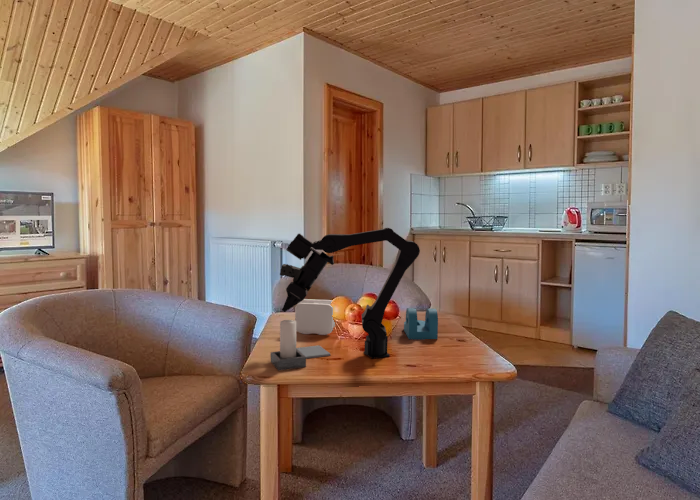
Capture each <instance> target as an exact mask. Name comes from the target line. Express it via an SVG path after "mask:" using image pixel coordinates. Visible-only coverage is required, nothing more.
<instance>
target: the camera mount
mask: <svg viewBox="0 0 700 500" xmlns="http://www.w3.org/2000/svg"><path fill="white" fill-rule="evenodd" d="M425 310H426V311H425V315H424V316H425V317H424V320H421V319H420V320H419V319H418V312H417V309H416V308H413V307H411V308H410V307H409V308H406V312H405V321H404V322H403V331H404V333H405V335H406V337H407V338H408V340H425V339H437V340H439V339H438V338H439V337H438V333H439V315H438V310H437V308H426V309H425Z"/></svg>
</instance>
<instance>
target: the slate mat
mask: <svg viewBox="0 0 700 500" xmlns="http://www.w3.org/2000/svg"><path fill="white" fill-rule="evenodd" d="M296 349H297V350H299V351H300V352H301V353H302V354H303V355H304V356H305V357H306V360H307V359H314V358H320V357H321V358H322V357H329V356H331V352H329V351H328V350H326V349H325V348H323V347H322V346H321V345H320V344H319V345H311V346H301V347H300V346H299V347H296Z"/></svg>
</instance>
